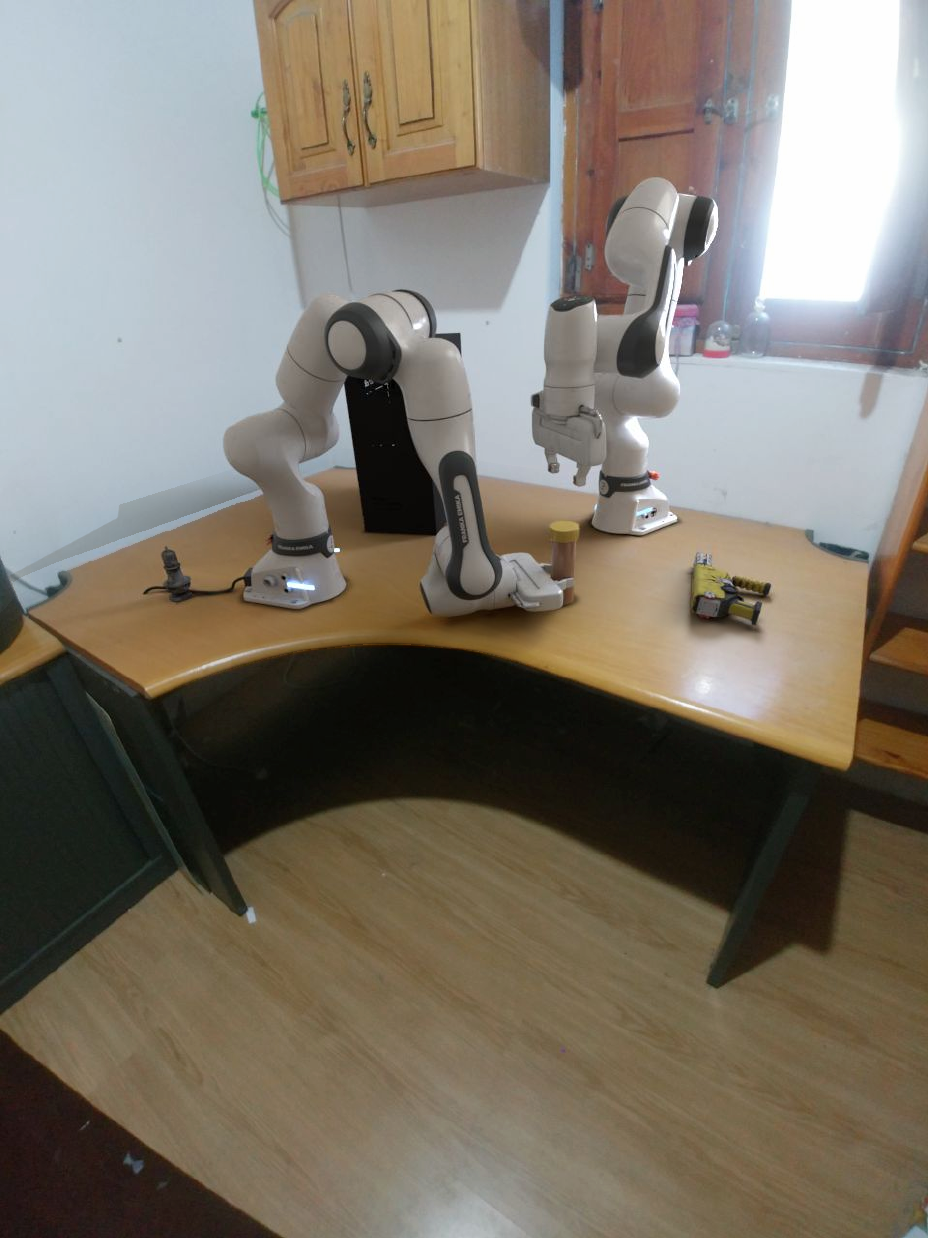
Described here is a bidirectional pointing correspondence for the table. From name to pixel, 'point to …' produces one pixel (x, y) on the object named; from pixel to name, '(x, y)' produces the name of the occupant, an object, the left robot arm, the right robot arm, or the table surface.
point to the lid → (564, 531)
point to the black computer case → (391, 459)
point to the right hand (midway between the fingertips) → (566, 478)
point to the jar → (563, 566)
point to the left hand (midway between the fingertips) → (566, 574)
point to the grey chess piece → (175, 577)
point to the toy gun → (722, 592)
